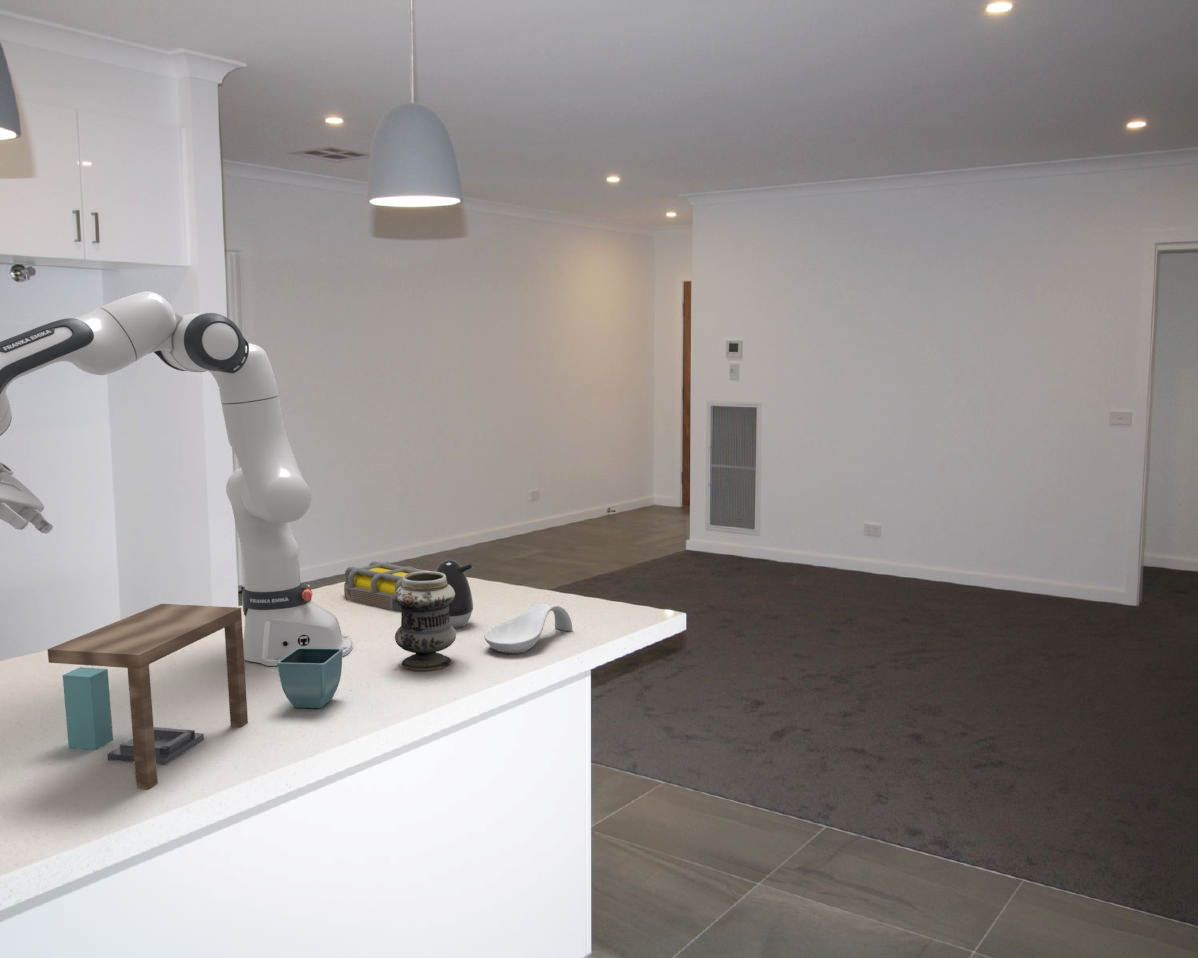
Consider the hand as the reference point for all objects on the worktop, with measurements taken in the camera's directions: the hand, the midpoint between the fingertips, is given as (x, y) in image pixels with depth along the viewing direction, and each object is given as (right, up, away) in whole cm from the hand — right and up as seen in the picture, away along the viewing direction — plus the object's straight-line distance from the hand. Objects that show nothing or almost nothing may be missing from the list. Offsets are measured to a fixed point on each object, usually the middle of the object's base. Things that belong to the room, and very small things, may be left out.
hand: (36, 528), depth 162 cm
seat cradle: (+21, -35, -4) cm, 41 cm away
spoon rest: (+77, -27, +52) cm, 96 cm away
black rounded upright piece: (+58, -25, +65) cm, 90 cm away
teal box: (+9, -35, -1) cm, 36 cm away
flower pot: (+40, -32, +16) cm, 54 cm away
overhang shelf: (+21, -35, -4) cm, 41 cm away
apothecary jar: (+57, -29, +38) cm, 74 cm away
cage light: (+40, -23, +88) cm, 99 cm away
